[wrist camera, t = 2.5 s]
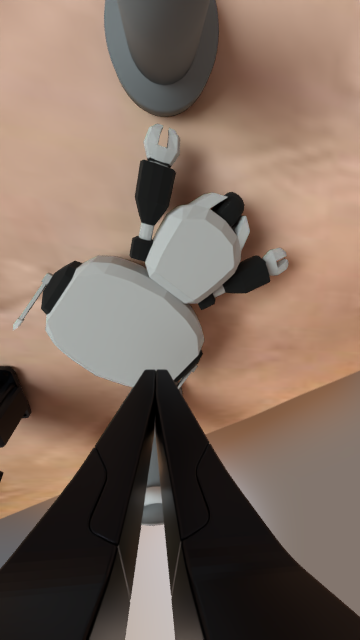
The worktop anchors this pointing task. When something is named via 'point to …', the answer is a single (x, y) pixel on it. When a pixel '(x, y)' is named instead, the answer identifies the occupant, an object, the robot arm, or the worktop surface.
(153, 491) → the tube
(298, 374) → the worktop surface
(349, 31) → the worktop surface
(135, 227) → the worktop surface
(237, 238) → the robot toy
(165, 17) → the tube
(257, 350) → the worktop surface
